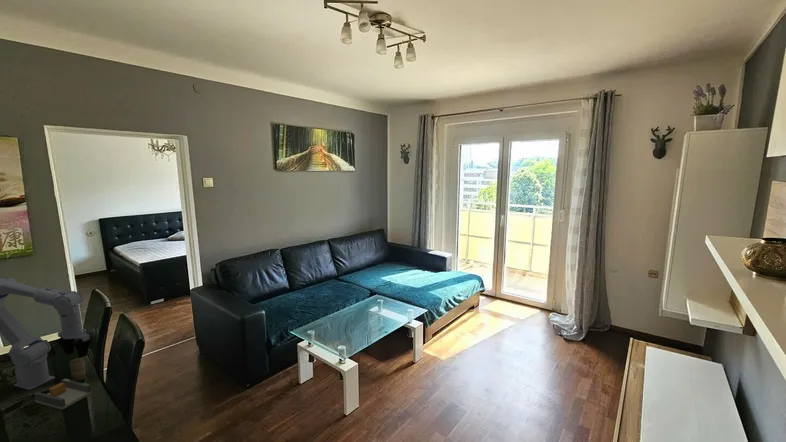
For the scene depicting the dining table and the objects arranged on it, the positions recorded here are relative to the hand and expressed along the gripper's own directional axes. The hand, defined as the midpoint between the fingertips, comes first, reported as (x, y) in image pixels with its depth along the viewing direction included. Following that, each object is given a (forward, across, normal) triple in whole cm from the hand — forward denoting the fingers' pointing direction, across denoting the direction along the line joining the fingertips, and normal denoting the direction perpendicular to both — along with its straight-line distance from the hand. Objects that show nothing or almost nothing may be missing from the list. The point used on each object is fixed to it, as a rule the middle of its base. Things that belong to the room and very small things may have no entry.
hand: (76, 355), depth 131 cm
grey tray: (+10, -8, +10) cm, 16 cm away
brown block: (+10, 0, 0) cm, 10 cm away
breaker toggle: (+9, -5, +10) cm, 14 cm away
